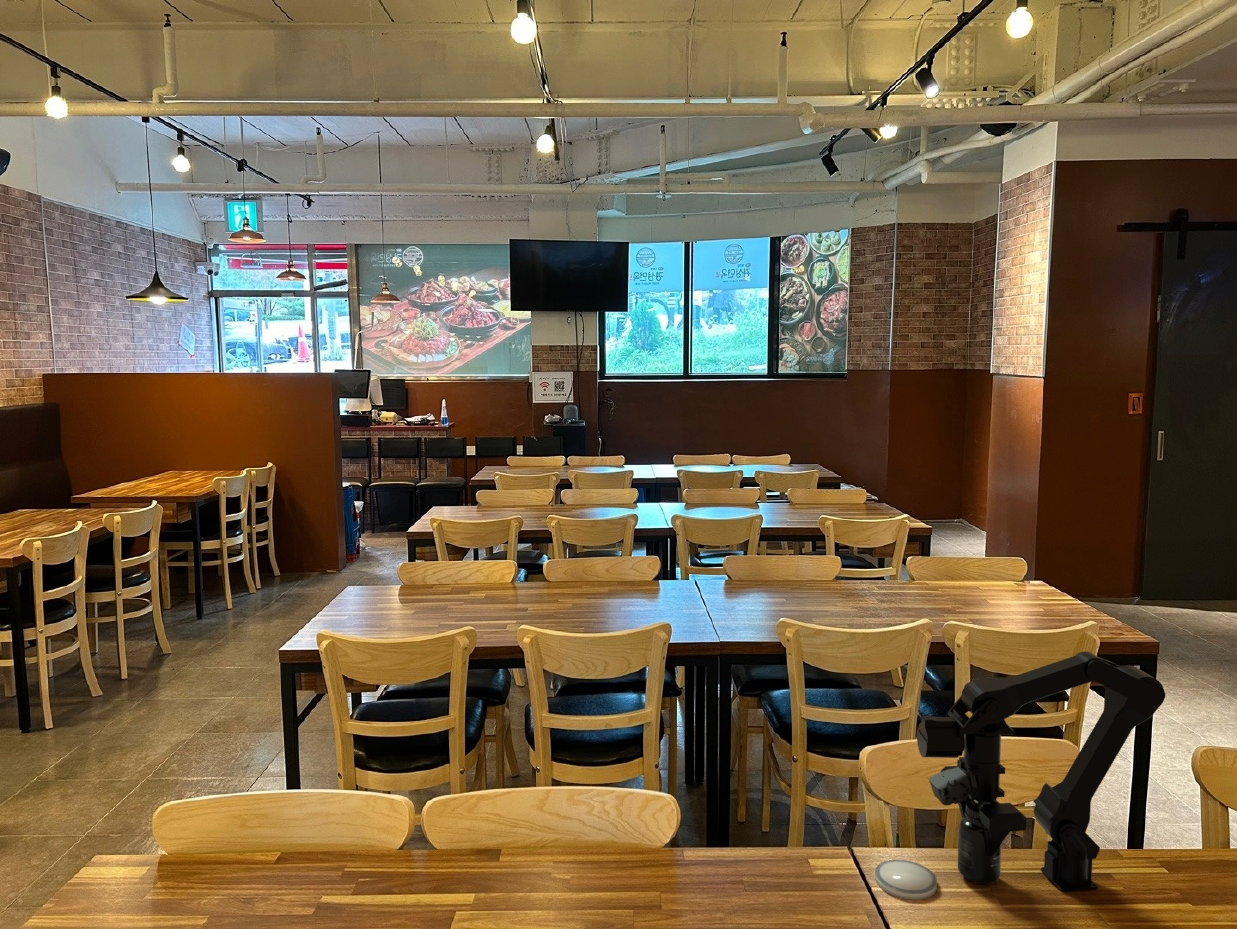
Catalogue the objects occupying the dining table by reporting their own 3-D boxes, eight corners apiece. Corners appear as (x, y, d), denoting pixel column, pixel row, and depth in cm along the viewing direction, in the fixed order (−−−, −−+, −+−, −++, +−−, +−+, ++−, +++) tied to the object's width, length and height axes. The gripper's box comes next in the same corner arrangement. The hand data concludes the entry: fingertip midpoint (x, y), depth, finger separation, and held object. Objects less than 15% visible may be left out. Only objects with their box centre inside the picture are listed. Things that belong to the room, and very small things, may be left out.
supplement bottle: (1004, 887, 144) (1006, 818, 143) (961, 882, 145) (963, 814, 144) (995, 865, 151) (997, 799, 149) (954, 861, 152) (955, 795, 151)
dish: (921, 864, 152) (921, 858, 152) (947, 898, 142) (947, 890, 142) (866, 867, 152) (866, 861, 151) (888, 901, 142) (888, 894, 141)
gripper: (913, 736, 155) (911, 819, 156) (962, 784, 136) (959, 877, 138) (972, 734, 156) (970, 816, 157) (1029, 781, 137) (1026, 874, 138)
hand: (979, 844), depth 147 cm, fingers closed on supplement bottle, 7 cm apart
